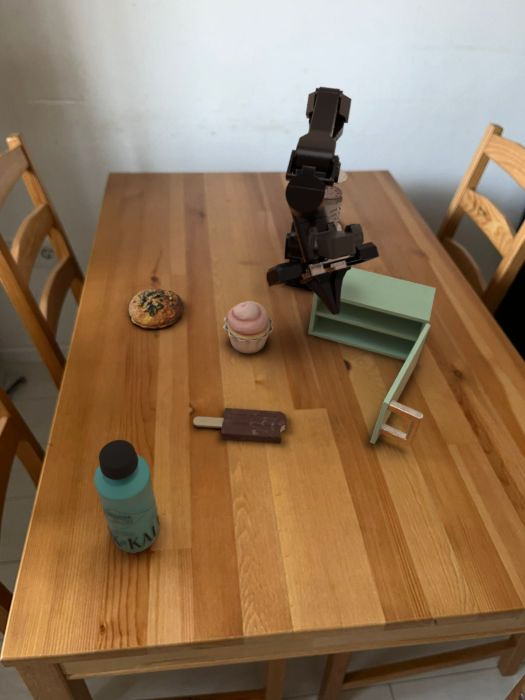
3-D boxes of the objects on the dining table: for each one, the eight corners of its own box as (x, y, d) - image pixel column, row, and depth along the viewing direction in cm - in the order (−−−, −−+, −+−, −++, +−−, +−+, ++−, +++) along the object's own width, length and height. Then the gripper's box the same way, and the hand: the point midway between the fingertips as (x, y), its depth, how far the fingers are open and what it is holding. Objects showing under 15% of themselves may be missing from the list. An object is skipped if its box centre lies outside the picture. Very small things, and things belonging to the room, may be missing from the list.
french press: (348, 225, 129) (367, 124, 112) (327, 245, 122) (343, 141, 104) (314, 212, 133) (327, 113, 115) (291, 232, 126) (301, 129, 108)
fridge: (413, 363, 95) (429, 320, 88) (307, 334, 100) (314, 291, 92) (420, 329, 102) (436, 287, 95) (321, 303, 107) (328, 261, 99)
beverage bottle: (116, 515, 72) (88, 429, 57) (164, 512, 72) (148, 426, 58) (110, 561, 67) (79, 480, 53) (161, 558, 68) (144, 477, 53)
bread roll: (196, 311, 103) (191, 293, 99) (153, 343, 98) (146, 325, 94) (161, 288, 108) (155, 269, 104) (118, 317, 103) (111, 299, 99)
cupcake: (248, 319, 102) (249, 279, 95) (282, 343, 97) (286, 303, 90) (212, 341, 97) (211, 300, 90) (246, 367, 93) (247, 326, 86)
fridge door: (442, 377, 93) (460, 336, 86) (404, 459, 80) (422, 418, 73) (411, 364, 95) (426, 322, 88) (369, 442, 82) (383, 401, 75)
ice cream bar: (191, 437, 81) (285, 443, 81) (190, 431, 80) (286, 437, 80) (195, 411, 85) (285, 417, 85) (195, 405, 84) (286, 411, 84)
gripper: (278, 220, 74) (307, 324, 75) (385, 197, 80) (410, 294, 81) (254, 238, 84) (279, 330, 85) (350, 217, 91) (372, 303, 91)
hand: (336, 314), depth 85 cm, fingers closed
